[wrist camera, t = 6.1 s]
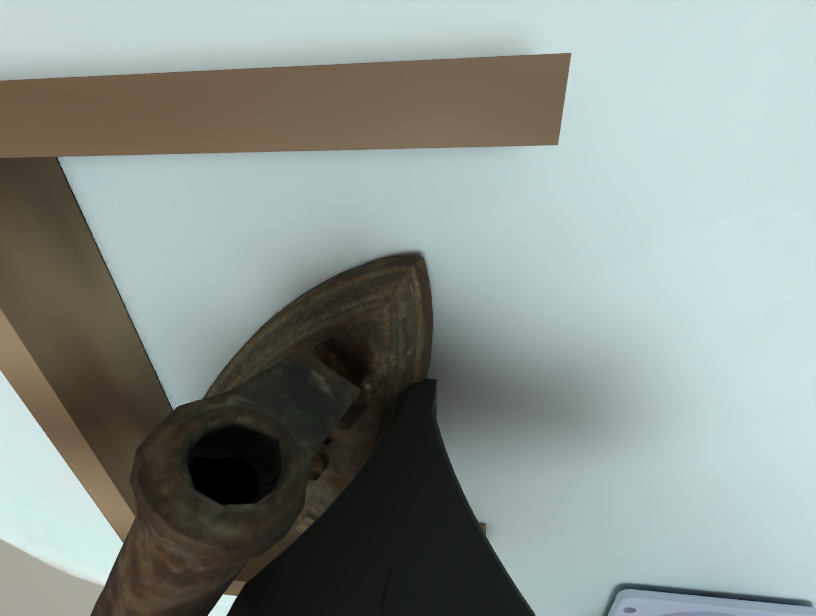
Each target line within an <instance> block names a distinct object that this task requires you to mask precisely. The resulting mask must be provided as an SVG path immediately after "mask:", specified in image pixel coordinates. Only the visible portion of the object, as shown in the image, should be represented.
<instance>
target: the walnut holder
mask: <svg viewBox="0 0 816 616" xmlns="http://www.w3.org/2000/svg"><path fill="white" fill-rule="evenodd" d="M570 58H571V53H561V54H540V55H520V56H499V57H479V58H458V59H438V60H417V61H397V62H376V63H356V64H335V65H315V66H294V67H274V68H253V69H233V70H212V71H192V72H171V73H151V74H130V75H109V76H89V77H68V78H48V79H27V80H7V81H0V370H1V371H2V373H3V374H4V376H5V377H6V379H7V380H8V381H9V383H10V384H11V386H12V387H13V388H14V390H15V391H16V393H17V394H18V395H19V397H20V398H21V400H22V401H23V402H24V404H25V405H26V407H27V408H28V409H29V411H30V412H31V414H32V415H33V416H34V418H35V419H36V421H37V422H38V424H39V425H40V426H41V428H42V429H43V431H44V432H45V433H46V435H47V436H48V438H49V439H50V440H51V442H52V443H53V445H54V446H55V447H56V449H57V450H58V452H59V453H60V454H61V456H62V457H63V459H64V460H65V462H66V463H67V464H68V466H69V467H70V469H71V470H72V471H73V473H74V474H75V476H76V477H77V478H78V480H79V481H80V483H81V484H82V485H83V487H84V488H85V490H86V491H87V492H88V494H89V495H90V497H91V498H92V500H93V501H94V502H95V504H96V505H97V507H98V508H99V509H100V511H101V512H102V514H103V515H104V516H105V518H106V519H107V521H108V522H109V523H110V525H111V526H112V528H113V529H114V530H115V532H116V533H117V535H118V536H119V537H120V539H121V540H122V542H123V543H124V541H125V539H126V537H127V535H128V532H129V530H130V528H131V526H132V524H133V522H134V519H135V517H136V515H137V511H136V506H135V500H134V495H133V490H132V487H131V484H130V482H129V479H130V475H131V470H132V466H133V461H134V457H135V453H136V448H137V447H138V446H139V445H140V444H141V442H142V441H143V440H144V439H145V438H146V436H147V435H148V434H149V433H150V432H151V430H152V429H153V428H154V427H155V426H156V425H157V424H158V423H160V422H161V421H162V420H163V419H164V418H165V417H166V416H168V415H169V414H170V413H171V412H172V409H171V407H170V405H169V402H168V400H167V398H166V396H165V394H164V392H163V389H162V387H161V385H160V383H159V381H158V379H157V376H156V374H155V372H154V370H153V368H152V366H151V363H150V361H149V359H148V357H147V355H146V353H145V350H144V348H143V346H142V344H141V342H140V340H139V337H138V335H137V333H136V331H135V329H134V327H133V324H132V322H131V320H130V318H129V316H128V314H127V311H126V309H125V307H124V305H123V303H122V301H121V298H120V296H119V294H118V292H117V290H116V287H115V285H114V283H113V281H112V279H111V277H110V274H109V272H108V270H107V268H106V266H105V264H104V261H103V259H102V257H101V255H100V253H99V251H98V248H97V246H96V244H95V242H94V240H93V238H92V235H91V233H90V231H89V229H88V227H87V225H86V222H85V220H84V218H83V216H82V214H81V212H80V209H79V207H78V205H77V203H76V201H75V199H74V196H73V194H72V192H71V190H70V188H69V186H68V183H67V181H66V179H65V177H64V175H63V173H62V170H61V168H60V166H59V164H58V162H57V160H56V157H62V156H105V155H148V154H192V153H235V152H278V151H321V150H364V149H407V148H450V147H493V146H536V145H558V140H559V134H560V127H561V120H562V113H563V106H564V99H565V92H566V85H567V79H568V72H569V65H570ZM480 526H481V528H482V530H483V532H484V533H485V535H486V529H485V524H480ZM300 535H301V533H300V532H298V531H296V530H294V529H293V528H291V529H290V531H289V532H288V534H287V535H286V536H285V537H284V538H283V539H281V540H280V541H279V542H278V543H277V544H275V545H274V546H273V547H272V548H270V549H269V550H268V551H266V552H265V553H264V554H262V555H261V556H258V557H255V558H252V559H250V560H249V561H248V562H247V564H246V565H245V566H244V568H243V569H242V571H241V572H240V573H239V574H238V576H237V577H236V578H235V580H234V581H233V582H232V584H231V585H230V586H229V587H228V589H227V590H226V591H225V592H224V594H225V595H234V596H238V594H239V593H240V591H241V589H242V588H243V586H244V584H245V583H247V582H248V581H249V580H250V579H251V578H253V577H254V576H255V575H256V574H257V573H258V572H260V571H261V570H262V569H263V568H264V567H265V566H267V565H268V564H269V563H270V562H271V561H272V560H274V559H275V558H276V557H277V556H278V555H279V554H281V553H282V552H283V551H284V550H285V549H286V548H287V547H289V546H290V545H291V544H292V543H293V542H294V541H295V540H296V539H297V538H298V537H299V536H300Z"/></svg>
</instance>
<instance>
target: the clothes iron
mask: <svg viewBox="0 0 816 616" xmlns="http://www.w3.org/2000/svg"><path fill="white" fill-rule="evenodd" d="M432 334H433V310H432V298H431V288H430V282H429V278H428V274H427V269H426V265H425V261H424V259H423V258H422V257H421V256H419V255H414V256H398V257H390V258H385V259H381V260H377V261H374V262H371V263H368V264H365V265H363V266H360V267H357V268H354V269H352V270H349V271H346V272H344V273H341V274H339V275H337V276H335V277H333V278H331V279H329V280H327V281H325V282H324V283H322V284H320V285H318V286H317V287H315V288H313V289H311V290H310V291H308V292H306V293H304V294H303V295H302V296H300V297H299V298H297V299H296V300H295V301H293V302H292V303H291V304H289V305H288V306H287V307H285V308H284V309H283V310H282V311H280V312H279V313H277V314H276V315H275V316H273V317H272V318H271V319H270V320H269V321H268V322H267V323H265V324H264V325H263V326H262V327H261V328H260V329H259V330H258V331H257V332H256V333H255V334H254V335H253V336H252V337H251V338H250V339H249V340H248V341H247V342H246V344H245V345H244V346H243V347H242V348H241V349H240V350H239V351H238V353H237V354H236V355H235V356H234V357H233V358H232V359H231V361H230V362H229V363H228V364H227V365H226V367H225V368H224V369H223V370H222V372H221V373H220V374H219V376H218V377H217V378H216V380H215V381H214V383H213V384H212V386H211V387H210V388H209V390H208V391H207V393H206V395H205V396H204V398H203V399H201V400H197V401H194V402H191V403H187V404H184V405H180V406H178V407H177V408H176V409H175V410H173V411H172V412H171V413H170V414H169V415H168V416H166V417H165V418H164V419H163V420H162V421H161V422H160V423H158V424H157V425H156V426H155V427H154V428H153V429H152V430H151V432H150V433H149V434H148V435H147V436H146V438H145V439H144V440H143V441H142V442H141V444H140V445H139V446H138V447H137V448H136V453H135V457H134V461H133V466H132V470H131V475H130V479H129V482H130V484H131V487H132V490H133V495H134V500H135V506H136V511H137V515H136V517H135V519H134V522H133V524H132V526H131V528H130V530H129V532H128V535H127V537H126V539H125V541H124V543H123V546H122V548H121V550H120V552H119V554H118V557H117V559H116V561H115V563H114V565H113V568H112V570H111V572H110V575H109V577H108V580H107V582H106V584H105V587H104V589H103V591H102V593H101V594H100V596H99V598H98V600H97V602H96V604H95V606H94V609H93V611H92V613H91V615H90V616H208V614H209V613H210V612H211V610H212V609H213V607H214V606H215V605H216V603H217V602H218V600H219V599H220V598H221V596H222V595H223V594H224V592H225V591H226V590H227V589H228V587H229V586H230V585H231V584H232V582H233V581H234V580H235V578H236V577H237V576H238V574H239V573H240V572H241V571H242V569H243V568H244V566H245V565H246V564H247V562H248V561H249V560H250V559H252V558H255V557H258V556H261V555H262V554H264V553H265V552H266V551H268V550H269V549H270V548H272V547H273V546H274V545H275V544H277V543H278V542H279V541H280V540H281V539H283V538H284V537H285V536H286V535H287V534H288V532H289V531H290V529H291V528H293V529H294V530H296V531H298V532H300V533H301V534H302V533H303V532H304V531H305V530H306V529H307V528H308V527H309V526H310V525H311V524H312V523H313V522H314V521H315V520H316V519H318V518H319V517H320V516H321V514H322V513H323V512H324V511H325V510H326V509H327V508H328V507H329V506H330V505H331V504H332V503H333V502H334V501H335V499H336V498H337V497H338V496H339V495H340V494H341V493H342V491H343V490H344V489H345V488H346V487H347V486H348V485H349V483H350V482H351V481H352V480H353V478H354V477H355V476H356V475H357V473H358V472H359V471H360V470H361V468H362V467H363V466H364V464H365V463H366V462H367V460H368V459H369V458H370V456H371V455H372V453H373V452H374V450H375V449H376V447H377V446H378V444H379V443H380V441H381V440H382V439H383V437H384V436H385V434H386V432H387V431H388V429H389V427H390V426H391V424H392V422H393V421H394V419H395V417H396V415H397V414H398V412H399V410H400V408H401V406H402V403H403V393H404V390H405V389H406V388H407V387H409V386H410V385H412V384H413V383H416V382H421V381H422V380H423V379H427V373H428V368H429V363H430V357H431V347H432Z"/></svg>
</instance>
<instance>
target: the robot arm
mask: <svg viewBox="0 0 816 616" xmlns="http://www.w3.org/2000/svg"><path fill="white" fill-rule="evenodd" d="M436 385H437V379H423V380H422V381H421V382H416V383H413V384H412V385H410V386H409V387H407V388H406V389H405V390H404V393H403V403H402V406H401V408H400V410H399V412H398V414H397V415H396V417H395V419H394V421H393V422H392V424H391V426H390V427H389V429H388V431H387V432H386V434H385V436H384V437H383V439H382V440H381V441H380V443H379V444H378V446H377V447H376V449H375V450H374V452H373V453H372V455H371V456H370V458H369V459H368V460H367V462H366V463H365V464H364V466H363V467H362V468H361V470H360V471H359V472H358V473H357V475H356V476H355V477H354V478H353V480H352V481H351V482H350V483H349V485H348V486H347V487H346V488H345V489H344V490H343V491H342V493H341V494H340V495H339V496H338V497H337V498H336V499H335V501H334V502H333V503H332V504H331V505H330V506H329V507H328V508H327V509H326V510H325V511H324V512H323V513H322V514H321V516H320V517H319V518H318V519H316V520H315V521H314V522H313V523H312V524H311V525H310V526H309V527H308V528H307V529H306V530H305V531H304V532H303V533H302V534H301V535H300V536H299V537H298V538H297V539H296V540H295V541H294V542H293V543H292V544H291V545H290V546H289V547H287V548H286V549H285V550H284V551H283V552H282V553H281V554H279V555H278V556H277V557H276V558H275V559H274V560H272V561H271V562H270V563H269V564H268V565H267V566H265V567H264V568H263V569H262V570H261V571H260V572H258V573H257V574H256V575H255V576H254V577H253V578H251V579H250V580H249V581H248V582H247V583H245V584H244V586H243V588H242V589H241V591H240V593H239V594H238V596H237V598H236V599H235V601H234V603H233V605H232V607H231V609H230V610H229V612H228V614H227V616H535V614H534V612H533V611H532V609H531V608H530V606H529V605H528V603H527V602H526V600H525V599H524V597H523V596H522V594H521V593H520V591H519V590H518V588H517V587H516V585H515V584H514V582H513V581H512V579H511V577H510V576H509V574H508V573H507V571H506V569H505V568H504V566H503V565H502V563H501V561H500V560H499V558H498V556H497V555H496V553H495V551H494V550H493V548H492V546H491V544H490V543H489V541H488V539H487V537H486V535H485V533H484V532H483V530H482V528H481V526H480V524H479V523H478V521H477V519H476V517H475V515H474V513H473V511H472V509H471V507H470V505H469V503H468V501H467V499H466V497H465V495H464V493H463V491H462V488H461V486H460V484H459V482H458V480H457V477H456V475H455V472H454V470H453V468H452V465H451V462H450V460H449V457H448V454H447V452H446V449H445V446H444V443H443V440H442V437H441V433H440V430H439V427H438V423H437V419H436ZM608 616H816V609H815V608H813V607H807V606H797V605H787V604H776V603H766V602H756V601H746V600H736V599H726V598H716V597H706V596H695V595H685V594H675V593H665V592H655V591H645V590H635V589H625V590H622V591H620V592H619V593H618V594H617V596H616V598H615V601H614V603H613V605H612V607H611V609H610V611H609V613H608Z"/></svg>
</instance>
